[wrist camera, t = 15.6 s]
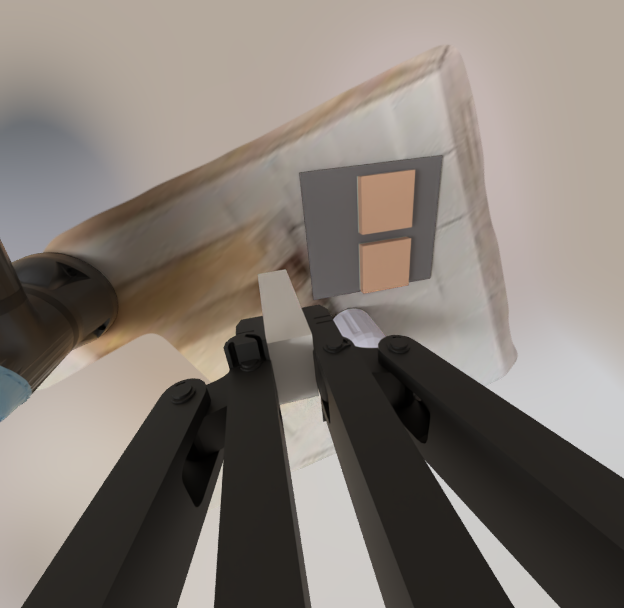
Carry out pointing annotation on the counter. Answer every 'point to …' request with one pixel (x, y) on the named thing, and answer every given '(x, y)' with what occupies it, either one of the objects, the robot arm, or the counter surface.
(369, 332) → the soap bottle
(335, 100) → the counter surface
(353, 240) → the mat
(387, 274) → the tile
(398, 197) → the tile
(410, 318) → the counter surface
